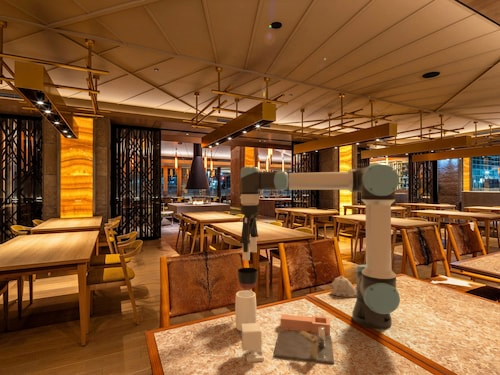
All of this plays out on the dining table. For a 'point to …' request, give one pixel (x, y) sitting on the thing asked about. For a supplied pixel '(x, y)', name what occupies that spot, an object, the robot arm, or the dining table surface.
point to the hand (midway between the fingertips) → (250, 255)
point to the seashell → (343, 288)
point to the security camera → (252, 341)
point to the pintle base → (305, 346)
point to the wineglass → (247, 278)
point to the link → (305, 323)
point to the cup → (245, 308)
